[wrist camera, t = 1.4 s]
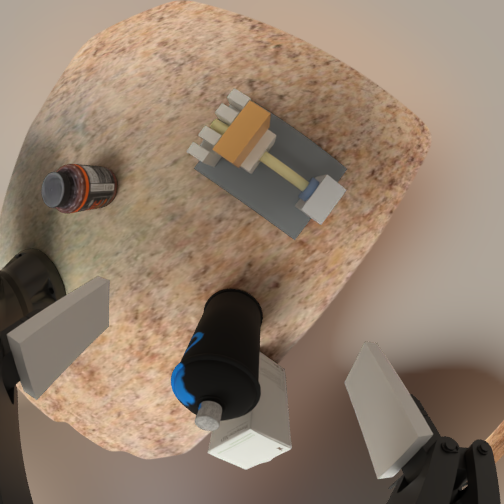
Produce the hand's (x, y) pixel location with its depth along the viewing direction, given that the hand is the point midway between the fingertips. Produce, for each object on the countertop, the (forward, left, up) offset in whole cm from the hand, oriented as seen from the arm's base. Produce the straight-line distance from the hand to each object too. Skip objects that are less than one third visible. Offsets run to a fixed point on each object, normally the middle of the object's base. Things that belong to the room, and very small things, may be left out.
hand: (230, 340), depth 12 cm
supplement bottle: (-22, -6, -23) cm, 33 cm away
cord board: (-4, +9, -23) cm, 25 cm away
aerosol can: (+4, -10, -23) cm, 25 cm away
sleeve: (-7, +9, -19) cm, 22 cm away
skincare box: (+12, -17, -23) cm, 31 cm away
